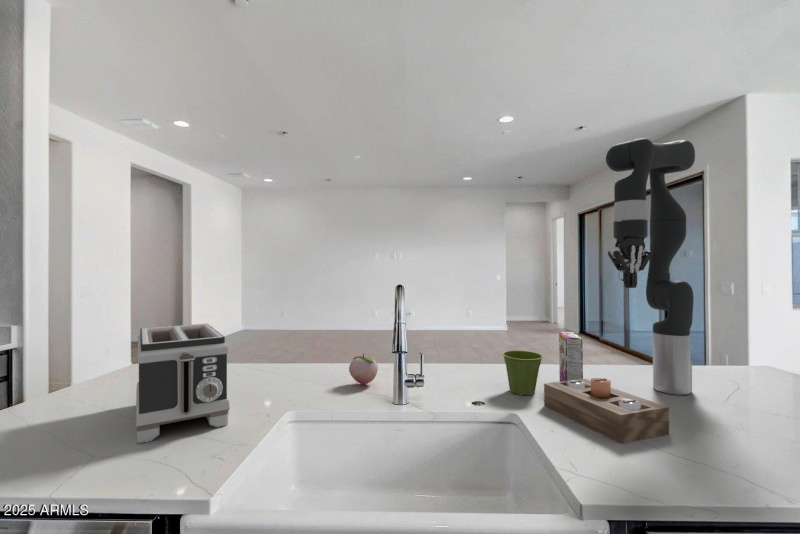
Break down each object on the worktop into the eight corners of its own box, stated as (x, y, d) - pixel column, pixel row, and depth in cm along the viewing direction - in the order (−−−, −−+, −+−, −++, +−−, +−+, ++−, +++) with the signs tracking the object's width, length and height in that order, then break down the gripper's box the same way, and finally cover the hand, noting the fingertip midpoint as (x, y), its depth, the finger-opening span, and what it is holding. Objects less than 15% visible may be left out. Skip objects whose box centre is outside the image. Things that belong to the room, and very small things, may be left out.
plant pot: (499, 395, 113) (499, 356, 114) (504, 384, 124) (504, 349, 124) (542, 400, 109) (542, 360, 109) (544, 388, 120) (544, 352, 120)
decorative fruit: (383, 383, 125) (383, 352, 125) (368, 390, 118) (368, 357, 118) (360, 379, 130) (360, 349, 130) (344, 385, 123) (344, 354, 123)
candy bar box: (558, 381, 127) (558, 331, 127) (574, 382, 126) (574, 331, 126) (565, 392, 116) (565, 337, 116) (583, 393, 115) (583, 337, 115)
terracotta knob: (600, 391, 99) (600, 376, 99) (615, 396, 94) (614, 380, 94) (586, 393, 97) (586, 377, 97) (600, 398, 93) (600, 382, 93)
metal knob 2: (628, 413, 91) (628, 396, 91) (645, 420, 87) (645, 402, 87) (613, 415, 90) (613, 398, 90) (630, 422, 85) (630, 404, 85)
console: (585, 400, 109) (585, 378, 109) (669, 434, 87) (668, 407, 87) (544, 405, 105) (544, 383, 105) (621, 443, 82) (621, 415, 82)
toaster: (135, 454, 78) (135, 349, 78) (136, 405, 107) (136, 328, 107) (233, 432, 88) (233, 339, 89) (210, 392, 117) (210, 322, 117)
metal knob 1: (576, 392, 106) (576, 378, 106) (589, 397, 102) (589, 382, 102) (563, 394, 105) (563, 379, 105) (575, 399, 100) (575, 384, 100)
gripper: (636, 222, 105) (636, 286, 105) (598, 220, 101) (598, 287, 101) (663, 219, 98) (663, 288, 98) (623, 216, 94) (623, 289, 93)
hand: (630, 287), depth 99 cm, fingers closed
